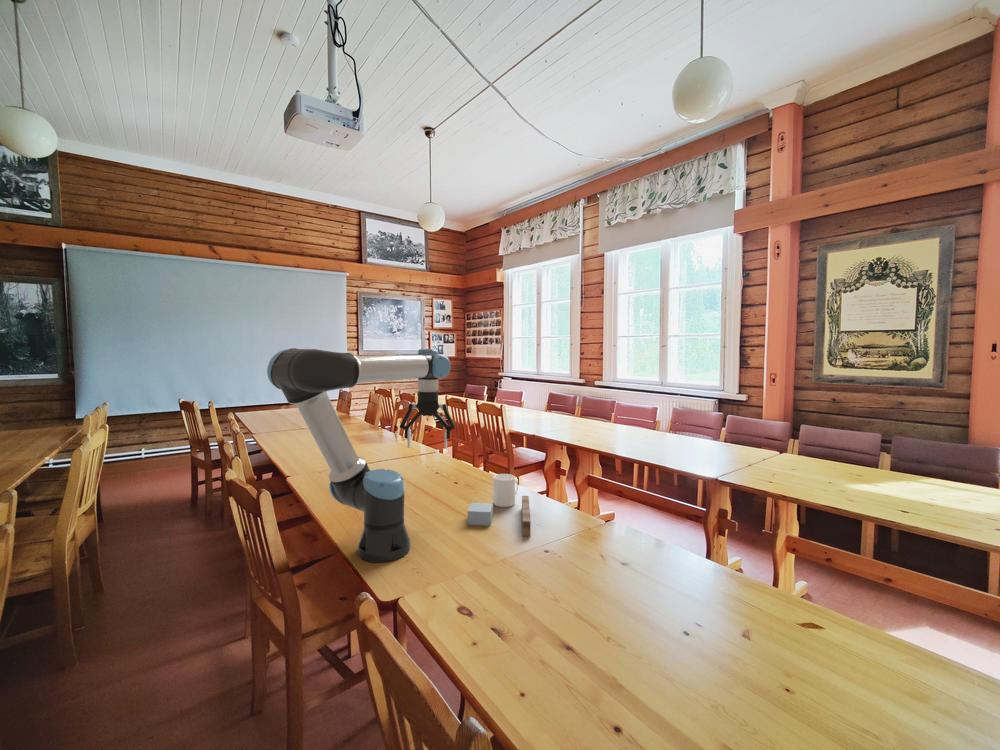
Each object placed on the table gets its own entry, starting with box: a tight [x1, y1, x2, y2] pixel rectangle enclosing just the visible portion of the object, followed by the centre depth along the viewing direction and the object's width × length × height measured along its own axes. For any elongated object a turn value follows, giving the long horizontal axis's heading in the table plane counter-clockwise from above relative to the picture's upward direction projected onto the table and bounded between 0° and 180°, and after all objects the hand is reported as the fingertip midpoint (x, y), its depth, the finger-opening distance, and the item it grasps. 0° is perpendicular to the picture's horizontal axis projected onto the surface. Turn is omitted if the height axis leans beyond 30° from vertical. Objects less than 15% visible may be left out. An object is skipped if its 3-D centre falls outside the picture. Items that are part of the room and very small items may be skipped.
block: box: [467, 502, 494, 526], centre depth 151 cm, size 8×8×5 cm
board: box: [521, 495, 531, 537], centre depth 150 cm, size 24×2×5 cm, turn 178°
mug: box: [492, 473, 519, 508], centre depth 168 cm, size 9×12×11 cm
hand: (427, 447), depth 159 cm, fingers open, 13 cm apart
